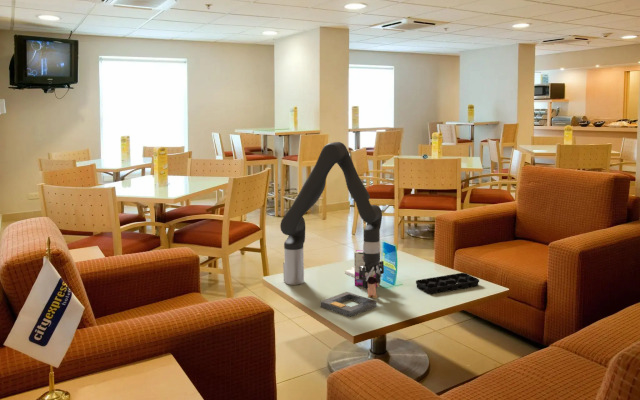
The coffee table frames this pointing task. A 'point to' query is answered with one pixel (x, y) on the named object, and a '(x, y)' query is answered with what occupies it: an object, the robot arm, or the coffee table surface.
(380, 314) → the coffee table surface
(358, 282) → the candy bar box
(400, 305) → the coffee table surface
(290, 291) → the coffee table surface
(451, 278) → the egg carton
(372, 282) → the grandmother figurine
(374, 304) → the holder board
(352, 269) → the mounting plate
